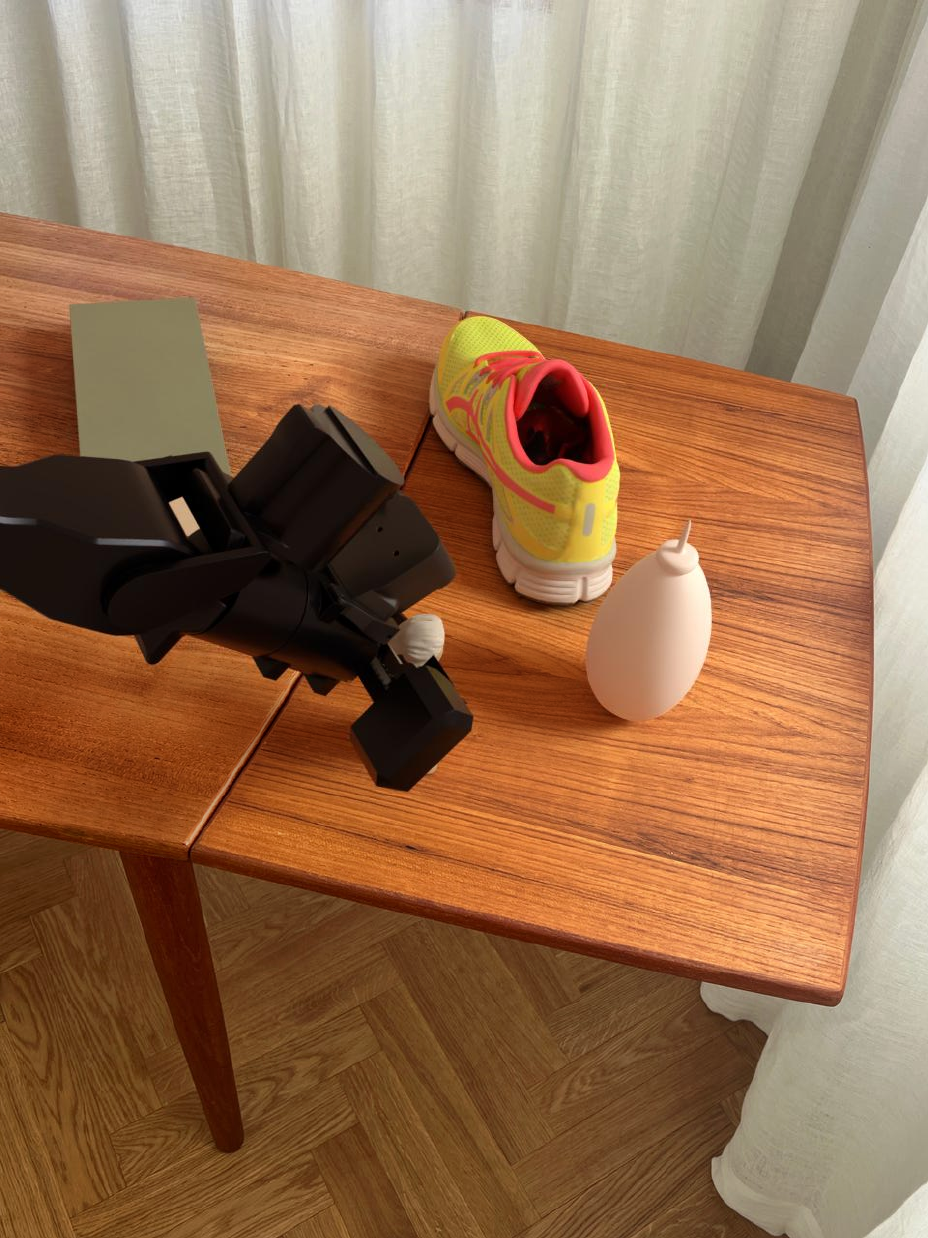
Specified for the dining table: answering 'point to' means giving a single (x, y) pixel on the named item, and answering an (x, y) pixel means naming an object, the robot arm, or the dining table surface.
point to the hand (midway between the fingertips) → (435, 669)
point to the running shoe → (532, 458)
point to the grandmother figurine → (419, 642)
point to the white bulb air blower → (651, 633)
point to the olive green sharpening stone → (145, 384)
